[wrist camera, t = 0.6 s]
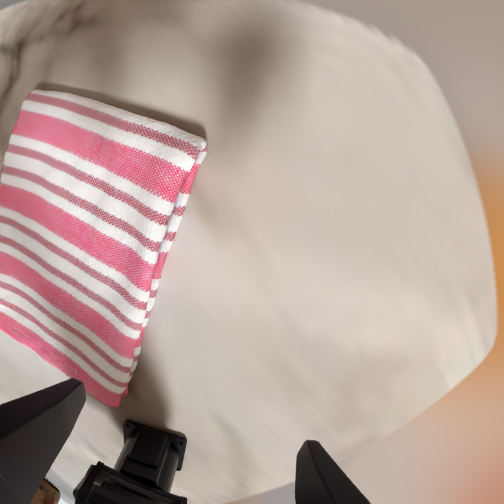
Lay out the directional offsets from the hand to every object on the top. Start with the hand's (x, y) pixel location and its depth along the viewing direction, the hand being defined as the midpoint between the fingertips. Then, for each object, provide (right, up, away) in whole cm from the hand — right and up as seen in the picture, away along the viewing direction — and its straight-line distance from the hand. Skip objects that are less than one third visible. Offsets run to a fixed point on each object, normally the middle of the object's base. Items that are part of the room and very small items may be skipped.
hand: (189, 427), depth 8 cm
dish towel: (-12, +6, +12) cm, 18 cm away
